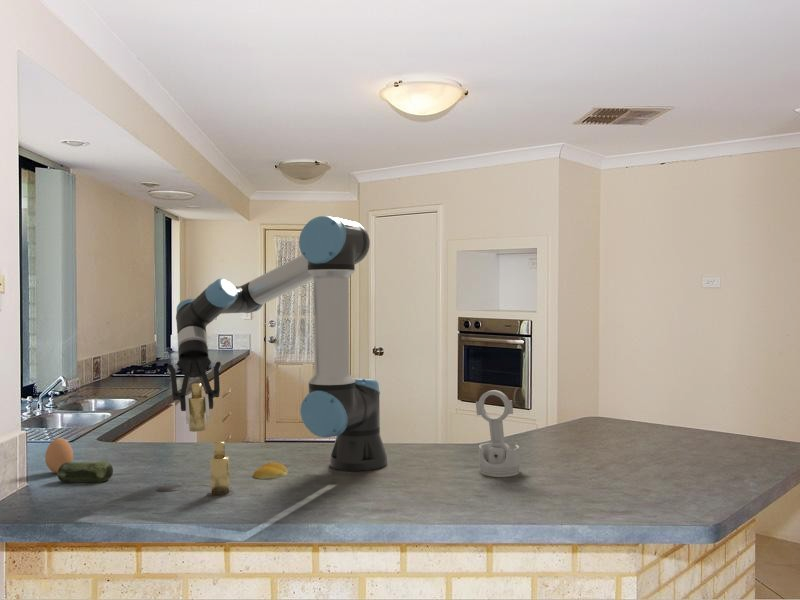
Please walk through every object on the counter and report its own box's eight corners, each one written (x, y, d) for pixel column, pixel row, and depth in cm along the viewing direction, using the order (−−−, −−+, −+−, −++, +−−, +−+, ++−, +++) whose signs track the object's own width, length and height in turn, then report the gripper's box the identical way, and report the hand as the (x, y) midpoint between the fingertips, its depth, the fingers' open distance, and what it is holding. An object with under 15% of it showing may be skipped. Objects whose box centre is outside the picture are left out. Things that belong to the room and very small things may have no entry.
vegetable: (116, 478, 175) (116, 458, 175) (108, 483, 170) (107, 463, 170) (62, 479, 175) (61, 459, 175) (51, 485, 170) (51, 464, 170)
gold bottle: (233, 491, 155) (232, 440, 155) (222, 496, 151) (221, 444, 151) (218, 490, 156) (217, 439, 156) (207, 495, 153) (206, 443, 153)
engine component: (513, 478, 166) (523, 468, 176) (511, 394, 166) (522, 388, 175) (470, 474, 171) (483, 465, 180) (469, 392, 171) (481, 387, 180)
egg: (62, 476, 177) (61, 441, 177) (39, 475, 178) (39, 440, 178) (79, 469, 184) (78, 435, 184) (57, 469, 185) (56, 435, 185)
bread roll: (248, 484, 166) (247, 468, 166) (262, 475, 175) (261, 459, 175) (280, 485, 165) (280, 469, 165) (293, 476, 174) (292, 460, 174)
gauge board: (254, 493, 158) (254, 487, 158) (223, 509, 147) (223, 502, 146) (169, 485, 166) (169, 480, 166) (133, 499, 155) (133, 493, 155)
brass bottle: (209, 428, 171) (207, 382, 171) (199, 431, 168) (197, 384, 168) (196, 428, 173) (194, 382, 173) (185, 431, 169) (184, 384, 169)
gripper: (225, 355, 188) (233, 425, 172) (159, 358, 182) (161, 431, 166) (226, 336, 183) (234, 407, 167) (158, 339, 177) (160, 413, 161)
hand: (198, 419), depth 167 cm, fingers closed on brass bottle, 4 cm apart
